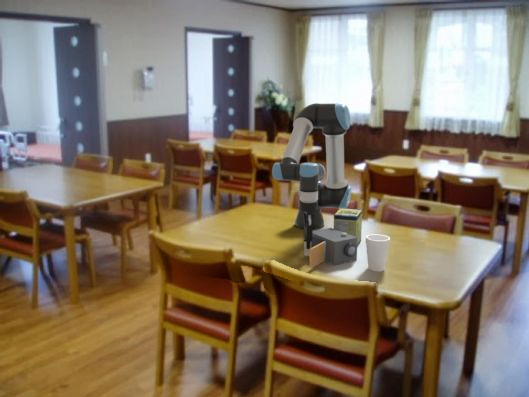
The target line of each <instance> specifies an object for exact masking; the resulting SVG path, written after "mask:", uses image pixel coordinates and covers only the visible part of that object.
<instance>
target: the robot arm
mask: <svg viewBox="0 0 529 397" xmlns="http://www.w3.org/2000/svg"><path fill="white" fill-rule="evenodd" d="M292 127H293V130H292V132H291V134H290V136H289V140H288V142H287V144H286V145H287V146H286V147H285V150H284V152H283V155H282V158H281V161H280V162H274V163H273V166H272V169H271V170H272V171H271V172H272V173H271V174H272V177H273V179H274V180H276V181H277V180H278V181H287V182H288V181H290V182H299V186H298V193H297V195H298V212H297V214H296V218H295V220H294V226H295V225H296V226H297V228H298V227H300V229H303V228H304V229H303V232H304V233H303V237H304V239H303V243H304V251H303V252H304V257H310V249H311V241H312V231H314V230H317V229H316V228H318V229H321V227H322V228H324V227H325V220H324V216H323V214H322V208H327V209H328V208H331V209H338V210H339V209H340V208H348V207H349V204H350V201H351V196H352V186H351V185H349V181H348V180H346V178H345V145H344V144H345V142H344V141H345V140H344V139H345V138H344V135H345V134H346V133H347V130H349V129H350V127H351V114H350V110H349V108H348V106H347V105H346V104H344V103H343V104H342V103H338V102H337V103H316V102H315V103H311V104H309V105H307V106H306V107H304V108H303V109H302V110H300V111H299V112H298V113H297V114H296V116H295V117H294V119H293V122H292ZM313 129H321V133H322V134H323V135H324V136H325V153H326V154H325V155H326V156H325V159H326V168H325V166H324V164H321V163H318V162H316V163H315V162H302V163H300V160H301V158H302V154H303V151H304V149H305V145H306V142H307V140H308V137H309V135H310V133H312V132H313ZM325 176H326V180H325V182H324V183H323V182H322V180H323V179H324V177H325ZM322 183H323V184H322ZM296 226H295V227H296ZM323 226H324V227H323Z"/></svg>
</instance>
